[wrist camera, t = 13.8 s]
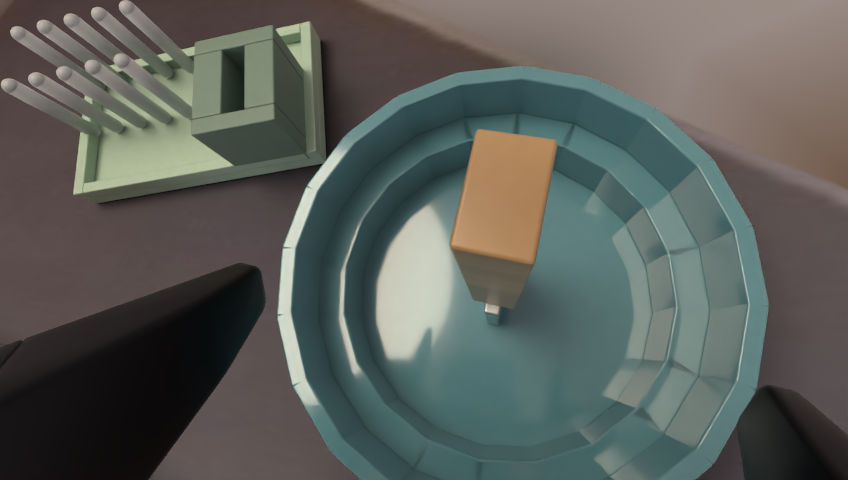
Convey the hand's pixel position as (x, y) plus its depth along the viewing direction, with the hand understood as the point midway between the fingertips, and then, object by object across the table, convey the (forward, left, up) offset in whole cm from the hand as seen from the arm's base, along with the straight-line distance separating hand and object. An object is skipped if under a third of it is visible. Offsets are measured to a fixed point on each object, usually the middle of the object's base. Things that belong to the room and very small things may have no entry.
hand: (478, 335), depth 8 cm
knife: (+2, +1, -12) cm, 12 cm away
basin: (+2, +1, -12) cm, 12 cm away
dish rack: (+1, +20, -12) cm, 24 cm away
